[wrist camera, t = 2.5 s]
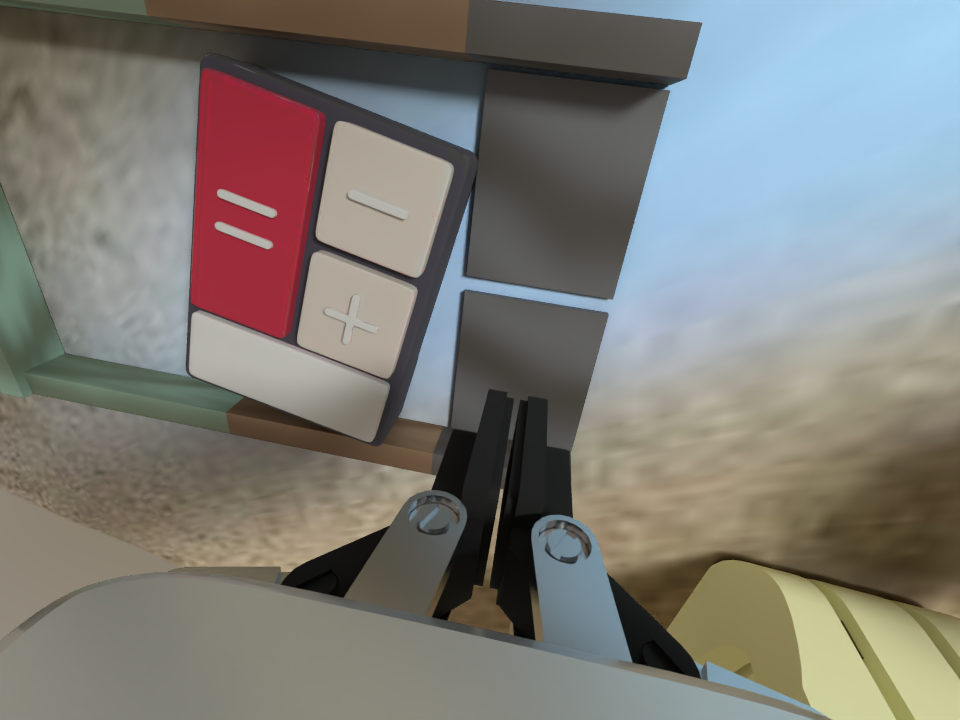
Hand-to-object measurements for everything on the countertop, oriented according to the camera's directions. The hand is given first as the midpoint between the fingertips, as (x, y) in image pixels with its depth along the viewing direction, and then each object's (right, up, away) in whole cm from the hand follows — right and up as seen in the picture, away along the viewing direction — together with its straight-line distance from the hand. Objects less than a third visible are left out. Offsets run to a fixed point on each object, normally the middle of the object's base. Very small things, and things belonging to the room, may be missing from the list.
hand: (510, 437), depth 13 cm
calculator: (-8, +7, +11) cm, 15 cm away
